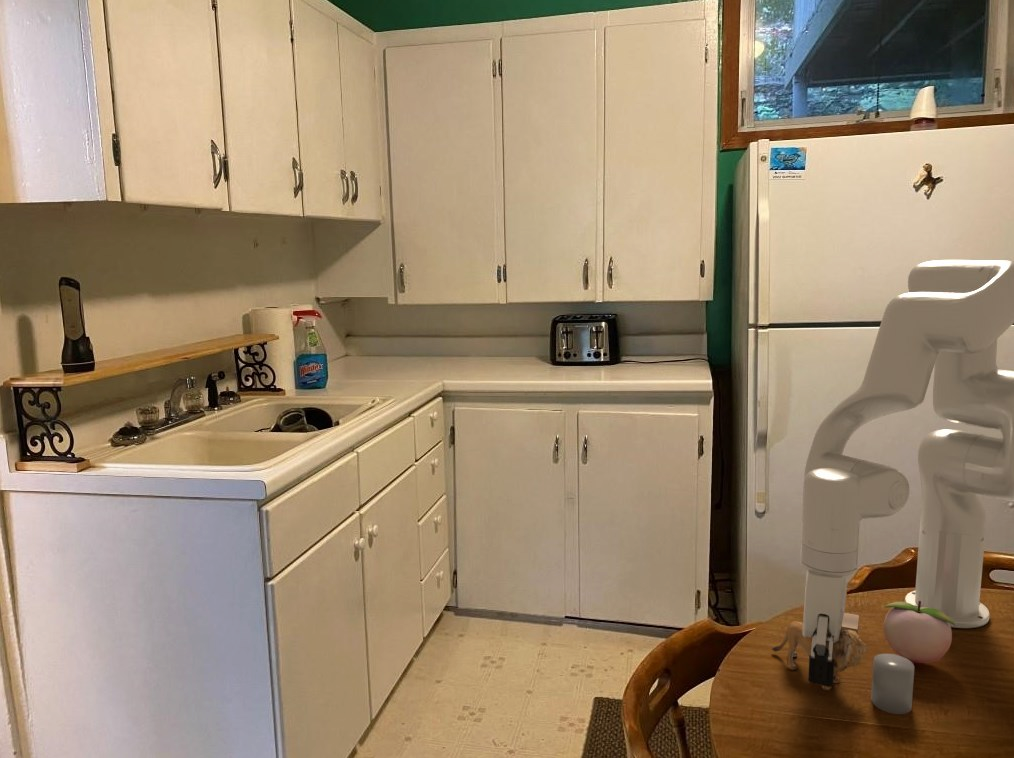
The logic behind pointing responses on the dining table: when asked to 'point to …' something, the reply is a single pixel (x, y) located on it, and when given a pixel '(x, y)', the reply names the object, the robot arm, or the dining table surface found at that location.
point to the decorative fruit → (917, 632)
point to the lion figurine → (843, 650)
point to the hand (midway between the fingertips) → (823, 667)
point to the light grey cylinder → (892, 683)
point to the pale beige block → (850, 622)
